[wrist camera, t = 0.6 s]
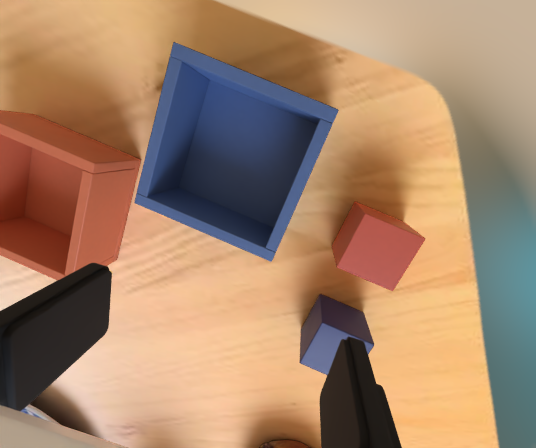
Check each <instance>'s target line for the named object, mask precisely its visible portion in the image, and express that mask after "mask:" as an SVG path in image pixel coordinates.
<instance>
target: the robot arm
mask: <svg viewBox="0 0 536 448" xmlns="http://www.w3.org/2000/svg"><path fill="white" fill-rule="evenodd" d="M111 279H112V273H111V272H110V271H109V268H108V267H107V266H104V265H101V264H97V263H90V264H88V265H86V266H84V267H82V268H80V269H78V270H77V271H75V272H73V273H71V274H69V275H67V276H65V277H63V278H62V279H60V280H58V281H56V282H54V283H52V284H50V285H48V286H47V287H45V288H43V289H41V290H39V291H37V292H35V293H33V294H32V295H30V296H28V297H26V298H24V299H22V300H20V301H18V302H17V303H15V304H13V305H11V306H9V307H7V308H5V309H4V310H2V311H0V448H127V447H124V446H121V445H118V444H115V443H112V442H110V441H107V440H104V439H101V438H98V437H95V436H92V435H89V434H86V433H83V432H80V431H77V430H74V429H71V428H68V427H65V426H62V425H59V424H56V423H53V422H50V421H47V420H44V419H41V418H38V417H35V416H32V415H29V414H26V413H23V412H20V411H21V410H23V409H24V408H26V407H27V406H28V405H29V404H30V403H31V402H32V401H33V400H34V399H35V398H36V397H37V396H39V395H40V394H41V393H42V392H43V391H44V390H45V389H46V388H47V387H48V386H49V385H51V384H52V383H53V382H54V381H55V380H56V379H57V378H58V377H59V376H60V375H61V374H62V373H64V372H65V371H66V370H67V369H68V368H69V367H70V366H71V365H72V364H73V363H74V362H75V361H77V360H78V359H79V358H80V357H81V356H82V355H83V354H84V353H85V352H86V351H87V350H89V349H90V348H91V347H92V346H93V345H94V344H95V343H96V342H97V341H98V340H99V339H100V338H102V337H103V336H104V335H105V333H106V331H107V329H108V325H109V310H110V294H111ZM320 422H321V447H322V448H402V447H401V444H400V441H399V437H398V434H397V431H396V428H395V424H394V421H393V418H392V415H391V411H390V408H389V405H388V402H387V398H386V395H385V392H384V389H383V387H382V386H381V385H378V384H376V381H375V378H374V374H373V371H372V367H371V364H370V360H369V357H368V353H367V350H366V346H365V343H364V341H362V340H359V339H356V338H352V337H347V338H346V340H345V339H342V340H341V341H340V344H339V346H338V349H337V352H336V354H335V357H334V360H333V362H332V365H331V368H330V370H329V373H328V375H327V378H326V381H325V383H324V386H323V389H322V391H321V395H320Z"/></svg>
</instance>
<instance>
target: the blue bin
mask: <svg viewBox="0 0 536 448" xmlns="http://www.w3.org/2000/svg"><path fill="white" fill-rule="evenodd" d="M337 113H338V109H336V108H333V107H331V106H328V105H326V104H323V103H321V102H319V101H316V100H314V99H311V98H309V97H307V96H304V95H302V94H299V93H297V92H294V91H292V90H290V89H287V88H285V87H282V86H280V85H277V84H275V83H273V82H270V81H268V80H265V79H263V78H260V77H258V76H256V75H253V74H251V73H248V72H246V71H243V70H241V69H239V68H236V67H234V66H231V65H229V64H226V63H224V62H222V61H219V60H217V59H214V58H212V57H209V56H207V55H205V54H202V53H200V52H197V51H195V50H192V49H190V48H188V47H185V46H183V45H180V44H178V43H175V42H173V46H172V50H171V54H170V58H169V63H168V67H167V71H166V75H165V79H164V83H163V87H162V91H161V95H160V99H159V104H158V108H157V112H156V116H155V120H154V124H153V128H152V132H151V136H150V140H149V145H148V149H147V153H146V157H145V161H144V165H143V169H142V173H141V177H140V181H139V186H138V190H137V194H136V198H135V203H136V204H138V205H141V206H143V207H145V208H148V209H150V210H152V211H155V212H157V213H159V214H162V215H164V216H166V217H169V218H171V219H173V220H176V221H178V222H180V223H182V224H185V225H187V226H189V227H192V228H194V229H196V230H199V231H201V232H203V233H206V234H208V235H210V236H213V237H215V238H217V239H220V240H222V241H224V242H227V243H229V244H231V245H234V246H236V247H238V248H241V249H243V250H245V251H248V252H250V253H252V254H255V255H257V256H259V257H262V258H264V259H266V260H269V261H272V260H273V258H274V255H275V253H276V251H277V248H278V246H279V244H280V242H281V239H282V237H283V235H284V233H285V230H286V228H287V226H288V224H289V221H290V219H291V217H292V215H293V212H294V210H295V208H296V206H297V203H298V201H299V199H300V196H301V194H302V192H303V190H304V187H305V185H306V183H307V181H308V178H309V176H310V174H311V172H312V169H313V167H314V165H315V163H316V160H317V158H318V156H319V153H320V151H321V149H322V147H323V144H324V142H325V140H326V138H327V135H328V133H329V131H330V129H331V126H332V123H333V122H334V120H335V117H336V115H337Z"/></svg>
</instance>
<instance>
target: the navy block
mask: <svg viewBox="0 0 536 448" xmlns="http://www.w3.org/2000/svg"><path fill="white" fill-rule="evenodd" d="M347 337H352V338H356V339H359V340H362V341H364V343H365V346H366V350H367V353H368V354H369V352H370V351H371V349H372V348H373V346H374V342H373V339H372V336H371V333H370V330H369V327H368V324H367V321H366V318H365V315H364V313H363V312H361V311H359V310H357V309H354V308H352V307H350V306H347V305H345V304H343V303H341V302H338V301H336V300H334V299H331V298H329V297H327V296H324V295H322V294H319V296H318V298H317V300H316V302H315V304H314V306H313V308H312V310H311V311H310V313H309V315H308V317H307V319H306V321H305V323H304V325H303V327H302V328H301V343H300V363H301V364H303V365H305V366H308V367H310V368H312V369H315V370H317V371H319V372H321V373H324V374H326V375H328V373H329V370H330V368H331V365H332V362H333V360H334V357H335V354H336V352H337V349H338V346H339V344H340V341H341V340H342V339H345V340H346V338H347Z"/></svg>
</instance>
